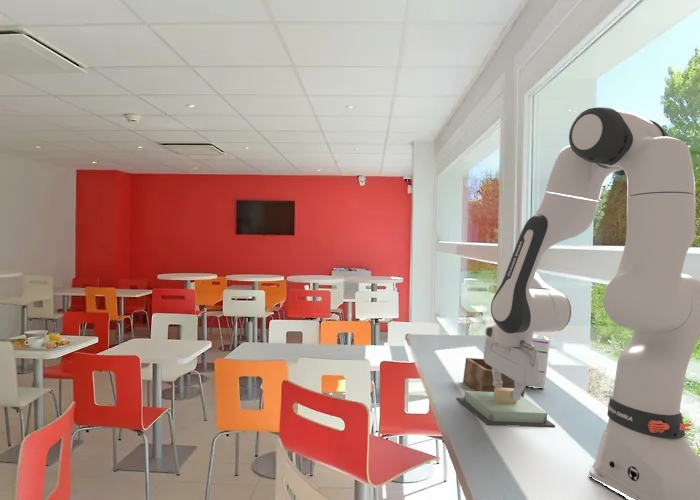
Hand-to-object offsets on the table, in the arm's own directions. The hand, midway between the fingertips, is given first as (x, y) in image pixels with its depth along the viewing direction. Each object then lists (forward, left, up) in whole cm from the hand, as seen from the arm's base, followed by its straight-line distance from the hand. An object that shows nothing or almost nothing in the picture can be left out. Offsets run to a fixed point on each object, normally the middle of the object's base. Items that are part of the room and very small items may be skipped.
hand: (505, 393), depth 134 cm
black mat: (0, 0, -5) cm, 5 cm away
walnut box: (+18, -6, -5) cm, 19 cm away
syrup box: (+24, -22, -5) cm, 33 cm away
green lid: (0, 0, -4) cm, 4 cm away
